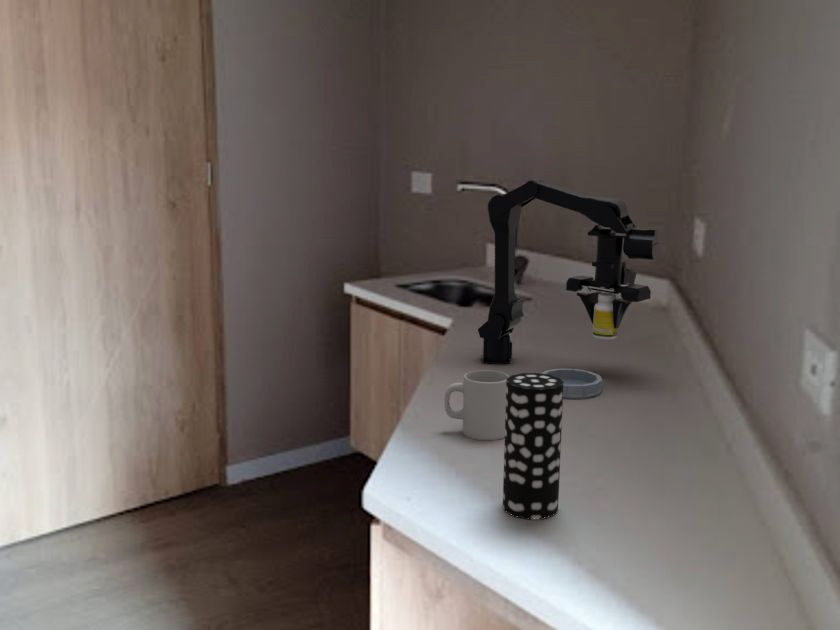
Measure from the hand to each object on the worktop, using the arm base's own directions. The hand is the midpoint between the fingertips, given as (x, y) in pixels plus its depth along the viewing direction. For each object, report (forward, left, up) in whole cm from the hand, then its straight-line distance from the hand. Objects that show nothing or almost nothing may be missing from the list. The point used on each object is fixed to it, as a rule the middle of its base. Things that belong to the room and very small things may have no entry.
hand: (605, 326), depth 205 cm
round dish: (-9, -10, -12) cm, 18 cm away
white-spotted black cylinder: (-25, -70, -12) cm, 75 cm away
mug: (-31, -37, -12) cm, 50 cm away
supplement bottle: (0, 0, -3) cm, 3 cm away
